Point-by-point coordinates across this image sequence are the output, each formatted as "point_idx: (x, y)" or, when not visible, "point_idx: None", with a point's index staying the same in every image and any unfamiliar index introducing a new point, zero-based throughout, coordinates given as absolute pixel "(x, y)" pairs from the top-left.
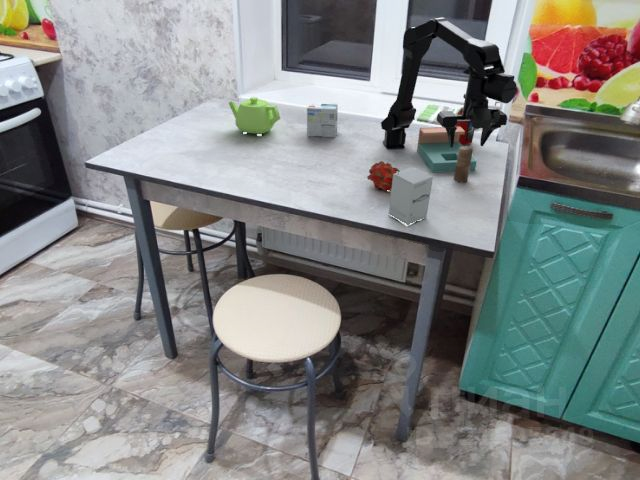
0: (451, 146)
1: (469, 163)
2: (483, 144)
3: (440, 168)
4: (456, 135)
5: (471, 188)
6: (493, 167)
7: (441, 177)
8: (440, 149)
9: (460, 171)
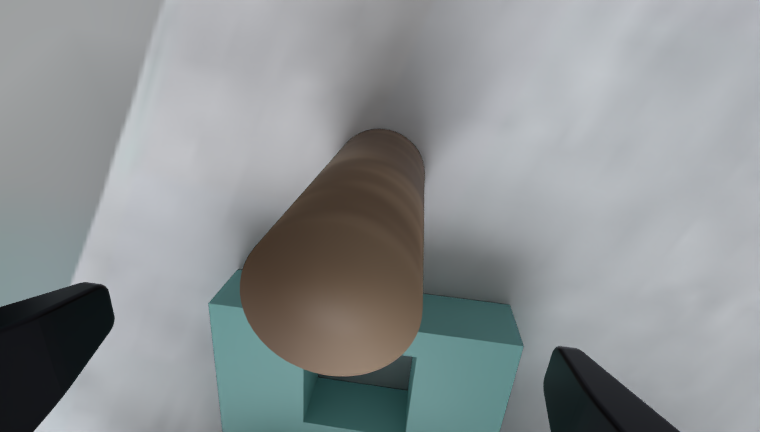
0: (589, 358)
1: (324, 173)
2: (58, 293)
3: (459, 311)
4: None
5: (359, 27)
6: (121, 273)
7: (489, 228)
8: None
9: (406, 161)
